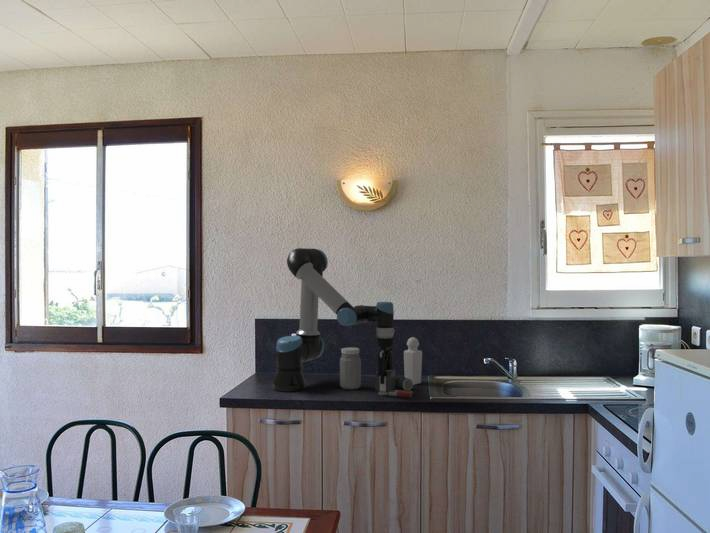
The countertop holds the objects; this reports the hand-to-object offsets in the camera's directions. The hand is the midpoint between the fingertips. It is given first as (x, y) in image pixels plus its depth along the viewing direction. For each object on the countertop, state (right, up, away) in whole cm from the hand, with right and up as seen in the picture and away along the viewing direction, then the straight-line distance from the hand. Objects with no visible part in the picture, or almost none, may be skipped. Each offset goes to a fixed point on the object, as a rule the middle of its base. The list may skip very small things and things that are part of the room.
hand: (385, 389), depth 238 cm
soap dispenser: (+14, -2, +22) cm, 27 cm away
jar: (-16, -2, +13) cm, 21 cm away
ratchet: (+4, -2, -1) cm, 5 cm away
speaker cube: (0, 0, 0) cm, 0 cm away
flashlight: (+7, -3, +14) cm, 16 cm away
